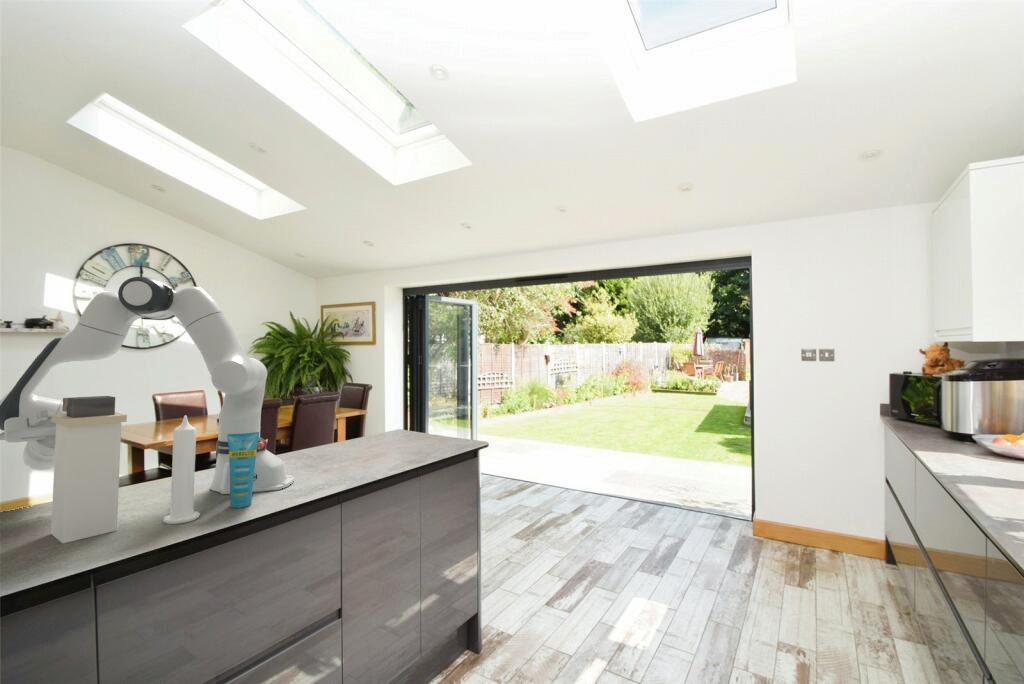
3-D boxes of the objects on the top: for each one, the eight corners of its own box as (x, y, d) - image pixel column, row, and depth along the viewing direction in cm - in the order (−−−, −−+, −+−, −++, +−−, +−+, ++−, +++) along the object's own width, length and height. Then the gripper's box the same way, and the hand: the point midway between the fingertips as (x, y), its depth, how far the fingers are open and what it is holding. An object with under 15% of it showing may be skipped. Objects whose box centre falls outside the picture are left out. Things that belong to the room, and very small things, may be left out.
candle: (195, 512, 117) (199, 412, 118) (202, 519, 112) (205, 415, 113) (161, 518, 112) (165, 415, 113) (166, 526, 107) (170, 418, 108)
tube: (224, 510, 119) (227, 435, 120) (224, 505, 123) (226, 432, 124) (257, 505, 123) (260, 432, 124) (256, 500, 127) (258, 430, 128)
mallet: (89, 408, 115) (90, 392, 115) (114, 414, 105) (115, 397, 105) (50, 411, 109) (51, 394, 110) (73, 417, 99) (73, 399, 99)
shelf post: (46, 532, 103) (51, 414, 103) (104, 520, 111) (109, 410, 112) (61, 545, 96) (66, 419, 97) (122, 531, 104) (126, 415, 105)
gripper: (-5, 428, 111) (7, 403, 105) (105, 419, 128) (121, 396, 121) (-3, 453, 109) (9, 428, 103) (108, 440, 126) (125, 418, 120)
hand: (71, 411), depth 112 cm, fingers open, 8 cm apart
